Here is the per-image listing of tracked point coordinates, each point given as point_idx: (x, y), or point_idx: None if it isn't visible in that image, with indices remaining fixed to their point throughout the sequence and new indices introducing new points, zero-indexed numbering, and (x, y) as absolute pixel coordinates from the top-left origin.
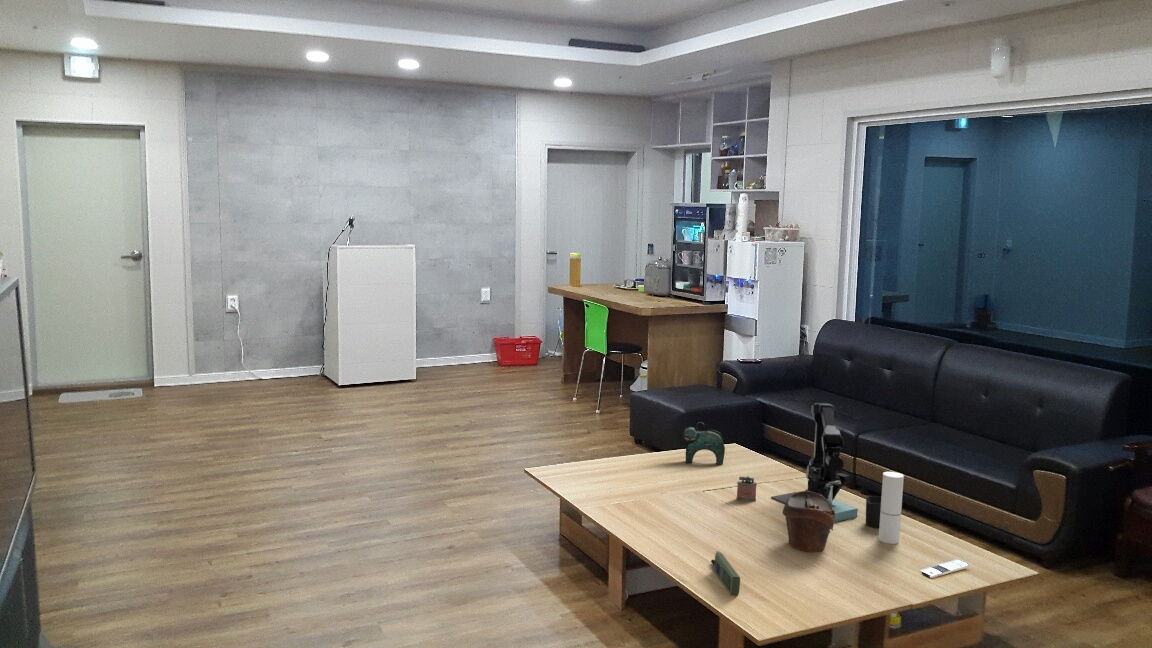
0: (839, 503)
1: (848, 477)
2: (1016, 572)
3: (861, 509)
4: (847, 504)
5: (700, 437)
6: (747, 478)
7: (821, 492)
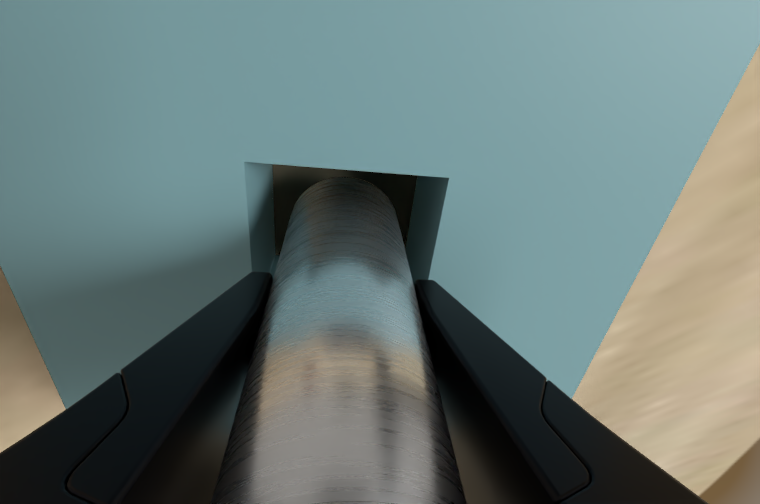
0: (562, 282)
1: None
2: None
3: (750, 285)
4: (597, 347)
5: None
6: None
7: (62, 430)
